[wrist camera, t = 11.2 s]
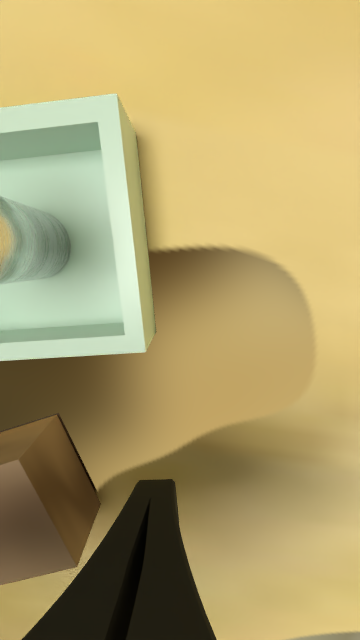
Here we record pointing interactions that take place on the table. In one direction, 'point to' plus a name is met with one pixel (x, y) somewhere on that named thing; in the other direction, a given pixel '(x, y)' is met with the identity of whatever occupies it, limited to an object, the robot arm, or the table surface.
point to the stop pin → (30, 243)
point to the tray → (78, 230)
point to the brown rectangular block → (42, 500)
